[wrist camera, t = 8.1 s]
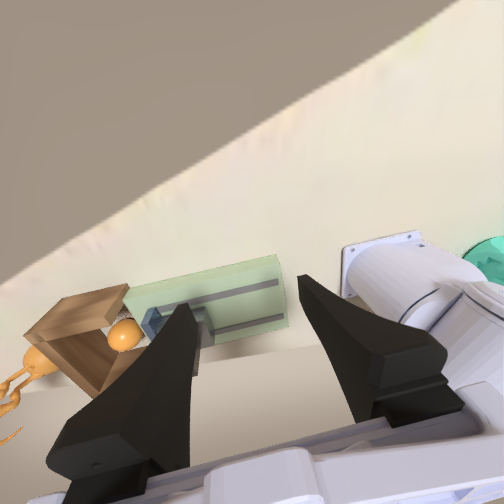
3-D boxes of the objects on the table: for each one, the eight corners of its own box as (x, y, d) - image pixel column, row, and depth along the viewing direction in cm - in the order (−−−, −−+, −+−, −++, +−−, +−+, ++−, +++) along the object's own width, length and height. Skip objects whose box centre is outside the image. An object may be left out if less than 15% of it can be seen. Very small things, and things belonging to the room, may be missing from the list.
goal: (126, 283, 22) (103, 316, 18) (166, 347, 28) (156, 385, 24) (61, 298, 22) (22, 335, 18) (114, 360, 28) (94, 400, 23)
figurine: (93, 358, 27) (12, 494, 17) (45, 366, 27) (-69, 511, 16) (59, 313, 23) (-75, 453, 13) (3, 322, 23) (-186, 475, 12)
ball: (115, 313, 25) (140, 311, 24) (129, 332, 26) (153, 331, 26) (93, 338, 22) (121, 337, 21) (110, 358, 23) (136, 358, 23)
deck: (275, 254, 23) (280, 264, 21) (284, 315, 28) (289, 328, 26) (129, 288, 23) (121, 301, 21) (164, 344, 28) (160, 359, 26)
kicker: (201, 296, 22) (195, 339, 17) (218, 339, 25) (217, 385, 20) (147, 309, 21) (125, 356, 17) (172, 350, 25) (160, 399, 20)
